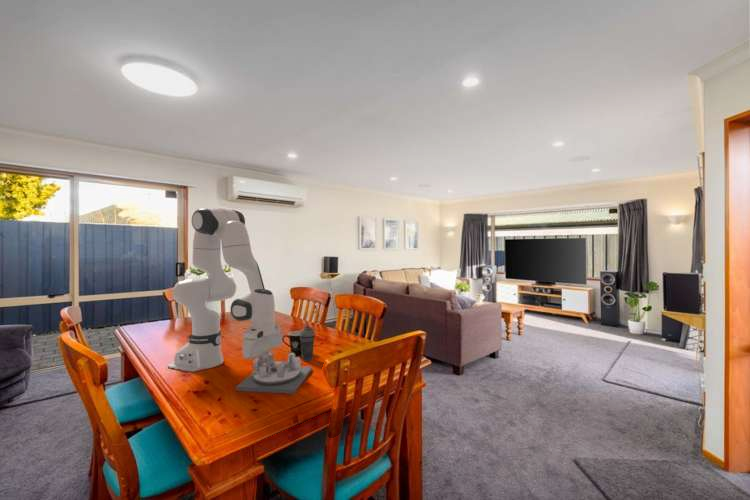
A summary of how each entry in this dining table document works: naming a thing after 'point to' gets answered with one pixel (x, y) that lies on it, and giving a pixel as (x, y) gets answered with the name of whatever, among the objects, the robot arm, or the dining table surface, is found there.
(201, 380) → the dining table surface
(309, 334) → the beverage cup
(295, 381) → the base plate
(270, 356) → the grey round pegged disc
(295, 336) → the coffee mug
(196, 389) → the dining table surface
